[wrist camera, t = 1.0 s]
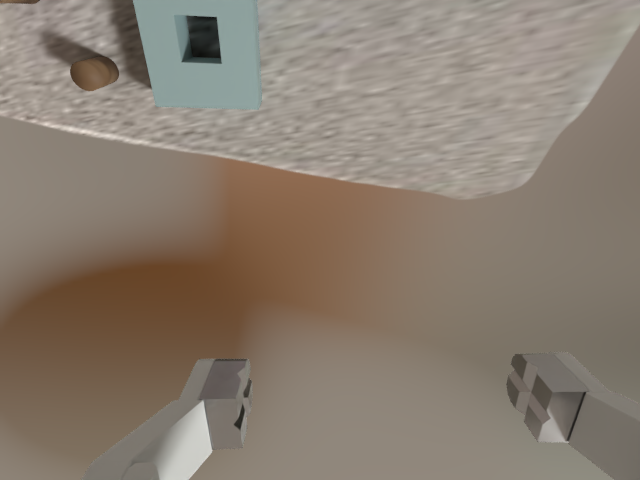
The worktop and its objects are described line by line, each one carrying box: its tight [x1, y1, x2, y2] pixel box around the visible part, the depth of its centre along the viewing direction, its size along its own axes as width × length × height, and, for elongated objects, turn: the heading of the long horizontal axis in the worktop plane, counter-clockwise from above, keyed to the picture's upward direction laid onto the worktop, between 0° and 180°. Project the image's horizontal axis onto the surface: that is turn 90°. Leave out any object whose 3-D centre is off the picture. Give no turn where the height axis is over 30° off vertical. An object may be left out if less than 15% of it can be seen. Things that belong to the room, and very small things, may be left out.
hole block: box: [133, 0, 262, 110], centre depth 39 cm, size 14×12×5 cm
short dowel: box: [70, 56, 119, 91], centre depth 40 cm, size 3×3×5 cm
